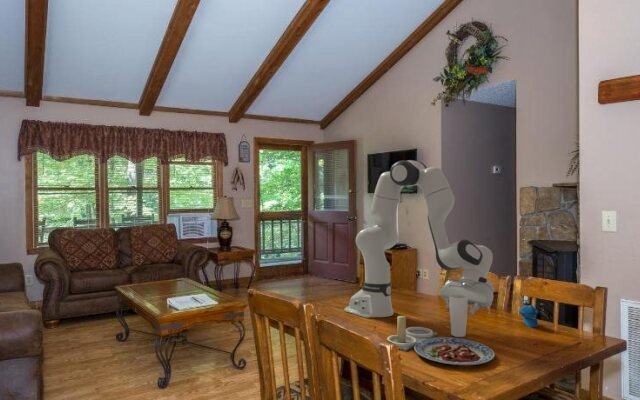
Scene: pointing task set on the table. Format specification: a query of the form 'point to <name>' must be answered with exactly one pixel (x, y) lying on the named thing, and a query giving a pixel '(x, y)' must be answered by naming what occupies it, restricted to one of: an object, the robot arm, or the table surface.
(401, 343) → the candle holder dish
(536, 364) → the table surface
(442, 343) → the ceramic plate
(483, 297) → the robot arm
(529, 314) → the blue lumpy upright piece
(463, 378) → the table surface
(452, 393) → the table surface
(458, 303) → the drinking glass
